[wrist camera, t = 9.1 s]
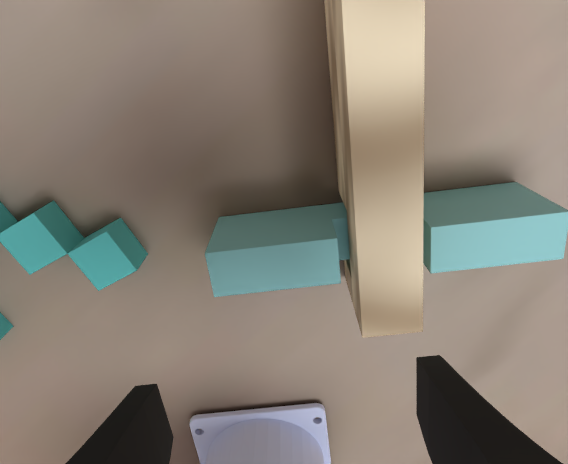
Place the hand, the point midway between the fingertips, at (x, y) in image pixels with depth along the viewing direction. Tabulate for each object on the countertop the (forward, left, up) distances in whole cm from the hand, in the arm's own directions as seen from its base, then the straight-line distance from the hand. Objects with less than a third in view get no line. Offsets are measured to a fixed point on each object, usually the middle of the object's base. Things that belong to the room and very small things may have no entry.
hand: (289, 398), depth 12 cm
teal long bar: (+1, -4, -10) cm, 11 cm away
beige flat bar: (+5, -4, -10) cm, 12 cm away
